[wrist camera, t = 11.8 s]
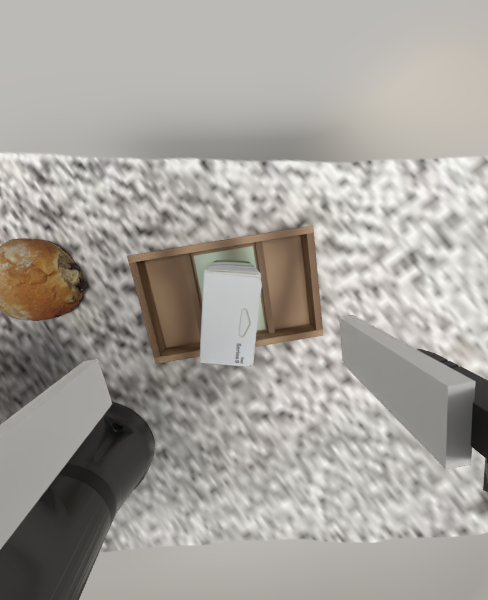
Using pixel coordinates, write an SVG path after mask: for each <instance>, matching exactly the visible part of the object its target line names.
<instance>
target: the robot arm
mask: <svg viewBox="0 0 488 600" xmlns="http://www.w3.org/2000/svg"><path fill="white" fill-rule="evenodd" d="M339 321H340V334H341V347H342V360H343V364H344V365H345V366H346V367H347V368H348V369H349V370H350V371H351V372H352V373H353V375H354V376H355V377H356V378H357V379H358V380H359V381H360V382H361V383H362V384H363V385H364V386H365V387H366V388H367V389H368V390H369V391H370V392H371V393H372V394H373V395H374V396H375V397H376V398H377V399H378V400H379V401H380V402H381V403H382V404H383V405H384V406H385V407H386V408H387V409H388V410H389V411H390V413H391V414H392V415H393V416H394V417H395V418H396V419H397V420H398V421H399V422H400V423H401V424H402V425H403V426H404V427H405V428H406V429H407V430H408V431H409V432H410V433H411V434H412V435H413V436H414V437H415V438H416V439H417V440H418V441H419V442H420V443H421V444H422V445H423V446H424V447H425V448H426V449H427V450H428V452H429V453H430V454H431V455H432V456H433V457H434V458H435V459H436V460H437V461H438V462H439V463H440V464H441V465H442V466H443V467H444V468H445V469H449V468H455V467H460V466H466V465H471V454H472V447H473V448H474V449H475V450H477V451H478V452H479V453H480V454H481V455H483V456H484V457H485V458H486V459H485V473H484V487H483V490H485V491H488V380H486V379H484V378H482V377H480V376H478V375H476V374H474V373H472V372H470V371H468V370H466V369H464V368H462V367H458V365H457V364H455V363H453V362H451V361H448V360H447V359H445V358H443V357H441V356H439V355H437V354H435V353H432V352H428V351H425V350H422V349H415V348H413V347H411V346H409V345H407V344H406V343H404V342H402V341H400V340H398V339H396V338H394V337H393V336H391V335H389V334H387V333H385V332H383V331H382V330H380V329H378V328H376V327H374V326H372V325H370V324H369V323H367V322H365V321H363V320H361V319H359V318H358V317H356V316H354V315H351V316H345V317H339ZM153 455H154V439H153V436H152V433H151V431H150V429H149V427H148V425H147V424H146V423H145V422H144V420H143V419H142V418H141V417H140V416H138V415H137V414H136V413H135V412H133V411H131V410H130V409H128V408H126V407H124V406H121V405H118V404H115V403H112V401H111V398H110V395H109V392H108V389H107V386H106V382H105V379H104V376H103V373H102V370H101V367H100V364H99V360H98V359H94V360H88V361H83V362H82V363H81V364H79V365H78V366H77V367H75V368H74V369H73V370H71V371H70V372H69V373H67V374H66V375H65V376H64V377H62V378H61V379H60V380H58V381H57V382H56V383H54V384H53V385H52V386H50V387H49V388H48V389H46V390H45V391H44V392H42V393H41V394H40V395H39V396H37V397H36V398H35V399H33V400H32V401H31V402H29V403H28V404H27V405H25V406H24V407H23V408H21V409H20V410H19V411H17V412H16V413H15V414H14V415H12V416H11V417H10V418H8V419H7V420H6V421H4V422H3V423H2V424H0V600H79V598H80V596H81V593H82V591H83V589H84V586H85V584H86V581H87V579H88V577H89V575H90V572H91V570H92V568H93V565H94V563H95V561H96V558H97V556H98V554H99V551H100V549H101V547H102V544H103V542H104V540H105V537H106V535H107V533H108V530H109V528H110V526H111V524H112V521H113V519H114V517H115V514H116V513H117V511H118V510H119V509H120V507H121V506H122V505H123V503H124V502H125V501H126V499H127V498H128V497H129V495H130V494H131V493H132V491H133V490H134V489H135V488H136V487H137V486H138V485H139V484H140V483H141V481H142V480H143V479H144V477H145V475H146V473H147V471H148V469H149V466H150V464H151V461H152V459H153Z"/></svg>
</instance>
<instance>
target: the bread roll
mask: <svg viewBox="0 0 488 600" xmlns="http://www.w3.org/2000/svg"><path fill="white" fill-rule="evenodd" d="M55 273H56V274H55ZM85 288H86V282H85V281H84V280H83V275H82V273H81V271H80V268H79V267H78V266H77V265H76V264H75V263H74V261H73V259H72V258H71V256H69V255H68V254H67V253H66V252H64V251H63V250H62V249H61V248H60V247H59V246H57V245H55V244H53V243H52V242H49V241H45V240H39V239H34V240H32V239H13V240H10V241H8V242H6V243H5V244H2V245H1V246H0V310H1V311H2V312H4V313H6V314H7V315H9V316H11V317H13V318H16V319H23V320H33V321H39V320H47V319H51V318H55V317H59V316H62V315H64V314H66V313H69V312H70V311H72V310H73V309H74V308H75V307H76V306H77V305H78V303H79V302H80V300H81V298H82V293H83V291H84V290H85Z"/></svg>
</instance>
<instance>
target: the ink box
mask: <svg viewBox="0 0 488 600" xmlns="http://www.w3.org/2000/svg"><path fill="white" fill-rule="evenodd" d="M261 288H262V282H261V274H260V272H259V271H258V270H257V269H256V268H255V267H254V266H253V265H252V264H251V263H250V262H246V261H227V260H219V261H214V262H213V263H212V264H211V265H210V266H209V267H208V268H207V269H206V270H205V271H204V280H203V298H202V319H201V339H200V363H201V364H214V365H232V366H252V365H253V362H254V351H255V341H256V332H257V323H258V314H259V305H260V296H261Z"/></svg>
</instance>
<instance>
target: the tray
mask: <svg viewBox="0 0 488 600" xmlns="http://www.w3.org/2000/svg"><path fill="white" fill-rule="evenodd" d="M127 257H128V261H129V265H130V268H131V272H132V276H133V280H134V284H135V287H136V291H137V295H138V299H139V303H140V306H141V310H142V314H143V318H144V321H145V325H146V329H147V333H148V337H149V340H150V344H151V348H152V352H153V356H154V359H155V363H156V364H157V363H163V362H169V361H175V360H180V359H186V358H192V357H198V356H200V339H201V319H202V298H203V280H204V271H205V270H206V269H207V268H208V267H209V266H210V265H211V264H212V263H213V262H214V261H219V260H227V261H246V262H250V263H251V264H252V265H253V266H254V267H255V268H256V269H257V270H258V271H259V272H260V274H261V282H262V288H261V296H260V305H259V314H258V323H257V332H256V341H255V347H257V346H263V345H269V344H275V343H281V342H287V341H293V340H299V339H305V338H311V337H317V336H323V327H322V316H321V306H320V295H319V284H318V273H317V263H316V252H315V241H314V230H313V226H306V227H300V228H294V229H288V230H282V231H276V232H270V233H264V234H258V235H252V236H246V237H240V238H234V239H228V240H221V241H215V242H209V243H203V244H197V245H191V246H185V247H179V248H173V249H167V250H161V251H155V252H149V253H142V254H136V255H130V256H127Z"/></svg>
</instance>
